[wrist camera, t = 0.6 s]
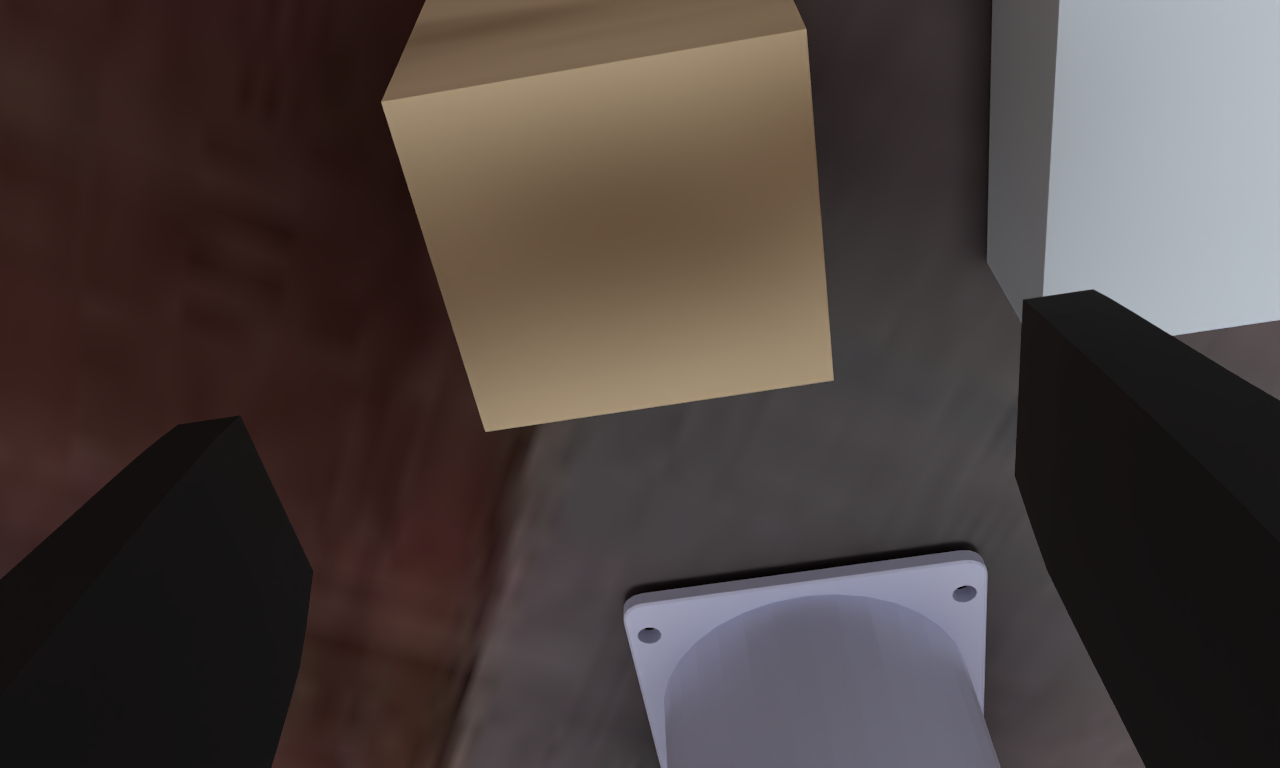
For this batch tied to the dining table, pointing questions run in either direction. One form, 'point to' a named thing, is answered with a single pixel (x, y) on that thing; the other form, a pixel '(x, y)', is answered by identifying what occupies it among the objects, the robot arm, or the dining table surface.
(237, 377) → the dining table surface
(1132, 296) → the grey-blue platform
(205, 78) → the dining table surface
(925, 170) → the dining table surface
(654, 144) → the birch cube
